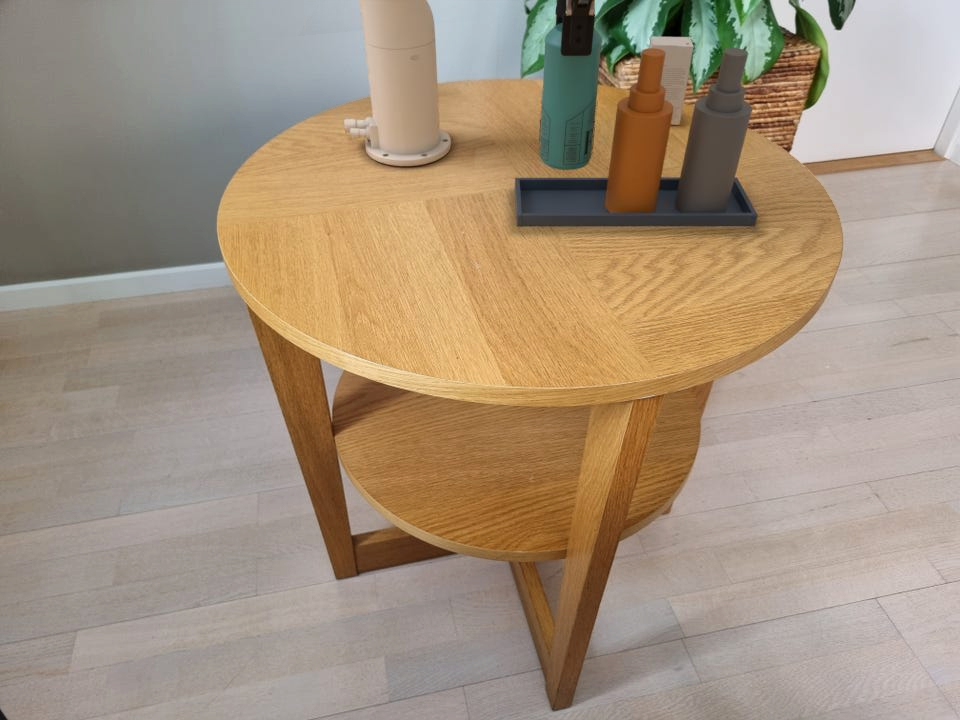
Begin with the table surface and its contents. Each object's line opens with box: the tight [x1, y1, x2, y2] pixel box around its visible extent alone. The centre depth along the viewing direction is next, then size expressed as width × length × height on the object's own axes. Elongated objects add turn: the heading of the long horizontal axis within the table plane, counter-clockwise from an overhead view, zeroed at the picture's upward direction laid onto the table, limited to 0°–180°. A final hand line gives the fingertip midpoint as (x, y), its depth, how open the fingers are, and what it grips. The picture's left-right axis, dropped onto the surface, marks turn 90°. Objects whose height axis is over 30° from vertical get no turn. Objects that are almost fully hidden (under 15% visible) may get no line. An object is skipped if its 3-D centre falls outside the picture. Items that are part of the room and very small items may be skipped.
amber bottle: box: [605, 47, 674, 213], centre depth 83 cm, size 6×6×19 cm
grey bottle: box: [675, 47, 753, 213], centre depth 83 cm, size 6×6×19 cm
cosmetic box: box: [648, 36, 695, 126], centre depth 107 cm, size 6×4×12 cm
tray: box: [514, 176, 759, 227], centre depth 89 cm, size 29×10×2 cm, turn 90°
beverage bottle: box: [538, 0, 603, 171], centre depth 79 cm, size 6×7×20 cm
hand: (572, 41), depth 76 cm, fingers closed on beverage bottle, 6 cm apart
